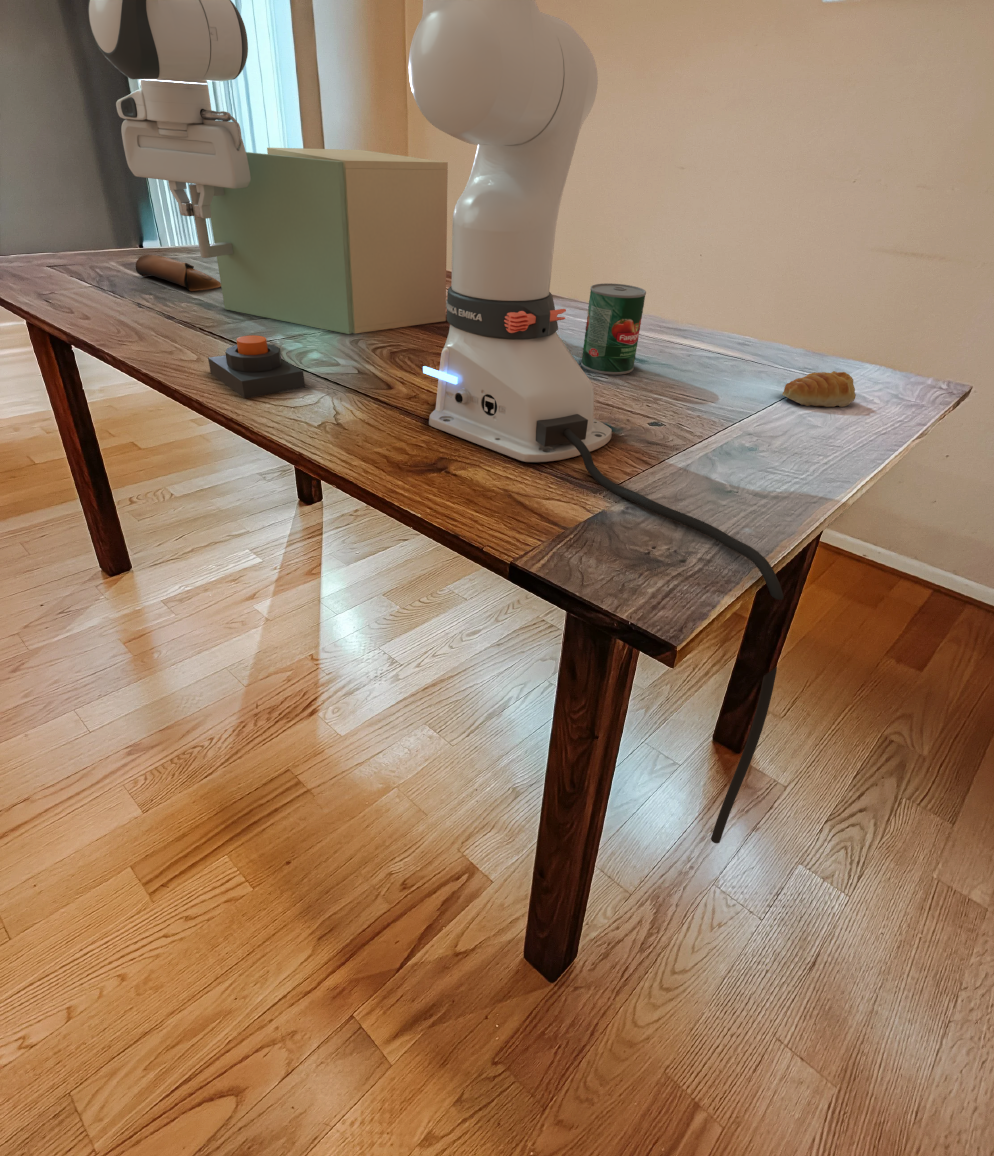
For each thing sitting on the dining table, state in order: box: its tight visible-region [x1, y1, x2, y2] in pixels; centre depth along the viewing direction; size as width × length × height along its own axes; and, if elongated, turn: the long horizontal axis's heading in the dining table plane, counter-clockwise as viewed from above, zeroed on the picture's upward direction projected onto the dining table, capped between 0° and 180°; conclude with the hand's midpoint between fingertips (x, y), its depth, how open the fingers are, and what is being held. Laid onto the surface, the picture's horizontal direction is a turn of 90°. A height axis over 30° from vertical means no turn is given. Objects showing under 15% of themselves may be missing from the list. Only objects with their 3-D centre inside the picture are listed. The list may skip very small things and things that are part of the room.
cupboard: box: [266, 147, 449, 334], centre depth 118 cm, size 18×26×24 cm
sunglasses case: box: [135, 254, 222, 293], centre depth 134 cm, size 18×7×7 cm
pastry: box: [781, 370, 857, 408], centre depth 95 cm, size 9×7×4 cm
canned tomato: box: [580, 282, 647, 376], centre depth 101 cm, size 8×8×11 cm
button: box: [236, 334, 268, 355], centre depth 88 cm, size 4×4×2 cm
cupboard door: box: [188, 151, 354, 335], centre depth 106 cm, size 7×26×24 cm, turn 64°
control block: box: [207, 343, 306, 399], centre depth 89 cm, size 11×8×4 cm
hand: (196, 217), depth 106 cm, fingers closed on cupboard door, 2 cm apart
